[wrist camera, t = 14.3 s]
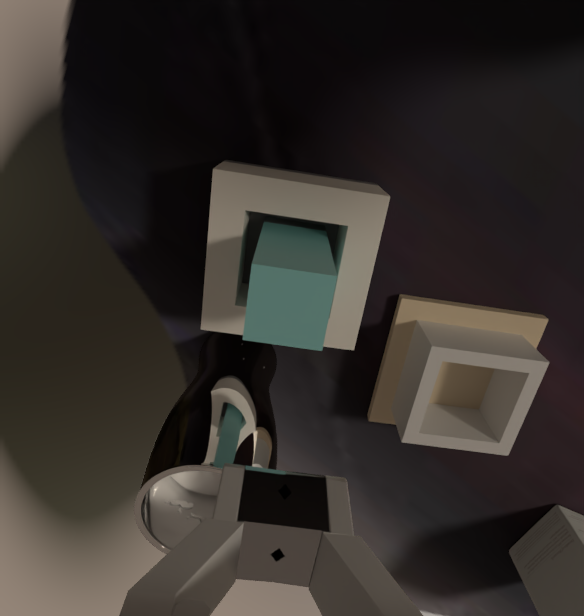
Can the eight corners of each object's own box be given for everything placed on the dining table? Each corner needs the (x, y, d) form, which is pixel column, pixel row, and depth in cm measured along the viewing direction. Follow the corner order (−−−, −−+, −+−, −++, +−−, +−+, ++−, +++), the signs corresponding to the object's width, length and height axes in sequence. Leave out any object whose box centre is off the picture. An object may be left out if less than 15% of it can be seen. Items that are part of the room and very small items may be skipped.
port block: (225, 159, 29) (212, 168, 25) (375, 183, 30) (390, 196, 25) (213, 299, 33) (200, 329, 29) (346, 317, 34) (353, 350, 29)
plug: (265, 216, 30) (251, 263, 21) (324, 225, 30) (337, 276, 21) (258, 272, 31) (242, 339, 22) (314, 281, 32) (322, 351, 22)
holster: (399, 294, 33) (415, 322, 29) (543, 314, 34) (580, 345, 29) (367, 415, 37) (376, 455, 33) (494, 431, 38) (520, 473, 34)
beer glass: (271, 404, 37) (256, 577, 23) (187, 386, 36) (122, 553, 23) (292, 331, 34) (289, 479, 21) (202, 310, 34) (137, 449, 20)
